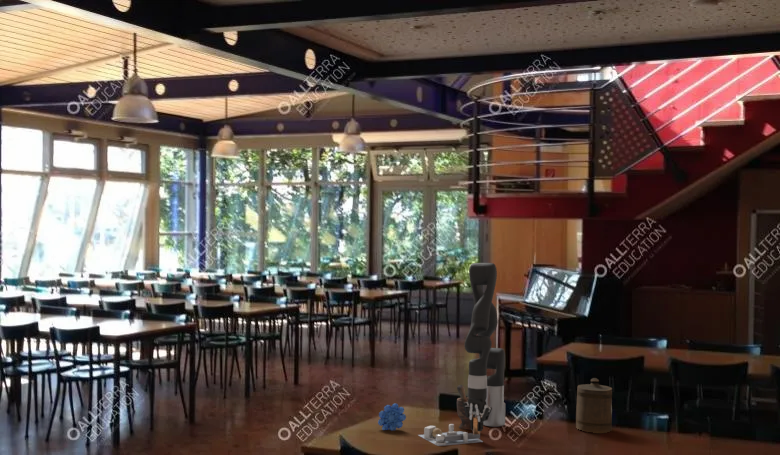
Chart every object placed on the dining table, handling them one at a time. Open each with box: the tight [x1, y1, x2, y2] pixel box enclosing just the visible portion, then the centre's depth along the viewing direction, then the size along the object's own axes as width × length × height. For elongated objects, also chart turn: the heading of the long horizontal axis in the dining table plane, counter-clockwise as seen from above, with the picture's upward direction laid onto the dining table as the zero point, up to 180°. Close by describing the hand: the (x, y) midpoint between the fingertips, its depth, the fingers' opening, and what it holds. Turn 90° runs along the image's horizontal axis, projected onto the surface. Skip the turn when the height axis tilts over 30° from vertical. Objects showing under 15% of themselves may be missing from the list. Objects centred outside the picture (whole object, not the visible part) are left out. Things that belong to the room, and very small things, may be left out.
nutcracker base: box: [417, 423, 484, 447], centre depth 313 cm, size 20×18×6 cm
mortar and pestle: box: [456, 384, 473, 432], centre depth 331 cm, size 12×9×20 cm
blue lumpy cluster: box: [377, 403, 407, 431], centre depth 327 cm, size 12×7×12 cm, turn 81°
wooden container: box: [575, 377, 613, 434], centre depth 339 cm, size 15×15×22 cm
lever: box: [436, 416, 481, 442], centre depth 308 cm, size 19×4×8 cm, turn 114°
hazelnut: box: [432, 427, 443, 438], centre depth 313 cm, size 4×4×4 cm
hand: (476, 430), depth 311 cm, fingers closed on lever, 3 cm apart
